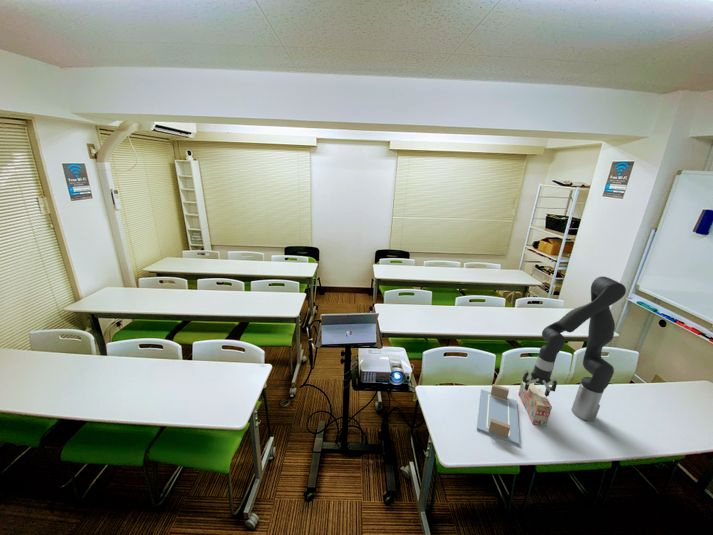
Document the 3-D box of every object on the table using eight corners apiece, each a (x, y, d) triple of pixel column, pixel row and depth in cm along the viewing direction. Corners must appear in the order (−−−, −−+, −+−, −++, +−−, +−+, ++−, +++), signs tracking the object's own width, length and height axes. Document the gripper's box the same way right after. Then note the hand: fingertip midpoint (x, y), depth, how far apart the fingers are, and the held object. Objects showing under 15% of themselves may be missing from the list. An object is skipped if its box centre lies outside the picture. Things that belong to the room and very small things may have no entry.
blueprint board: (516, 402, 156) (519, 391, 154) (519, 445, 130) (522, 433, 128) (480, 390, 163) (483, 380, 161) (476, 429, 138) (479, 417, 135)
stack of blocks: (517, 394, 163) (522, 376, 159) (529, 396, 162) (534, 377, 158) (532, 424, 142) (538, 404, 139) (546, 426, 141) (552, 406, 138)
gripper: (559, 366, 144) (550, 393, 149) (527, 357, 149) (519, 383, 154) (562, 375, 137) (553, 402, 142) (528, 365, 143) (520, 392, 148)
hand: (535, 392), depth 148 cm, fingers open, 8 cm apart
